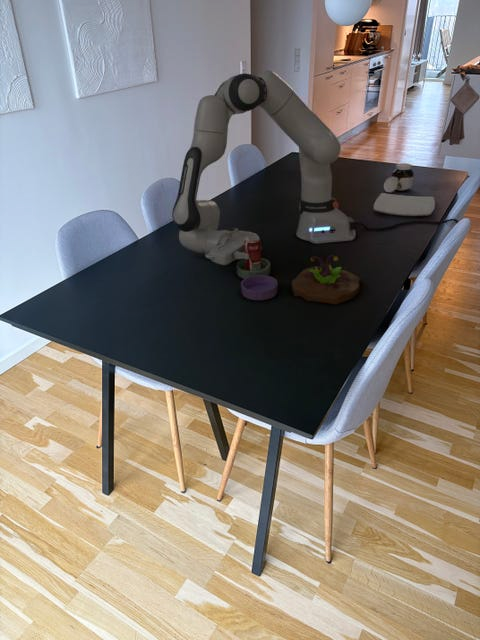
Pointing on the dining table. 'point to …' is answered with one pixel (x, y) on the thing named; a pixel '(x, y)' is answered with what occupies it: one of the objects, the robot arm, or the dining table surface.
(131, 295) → the dining table surface
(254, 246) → the soda can
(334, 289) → the plant
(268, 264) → the green bowl
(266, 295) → the lavender bowl
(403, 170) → the spread jar
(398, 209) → the plate
